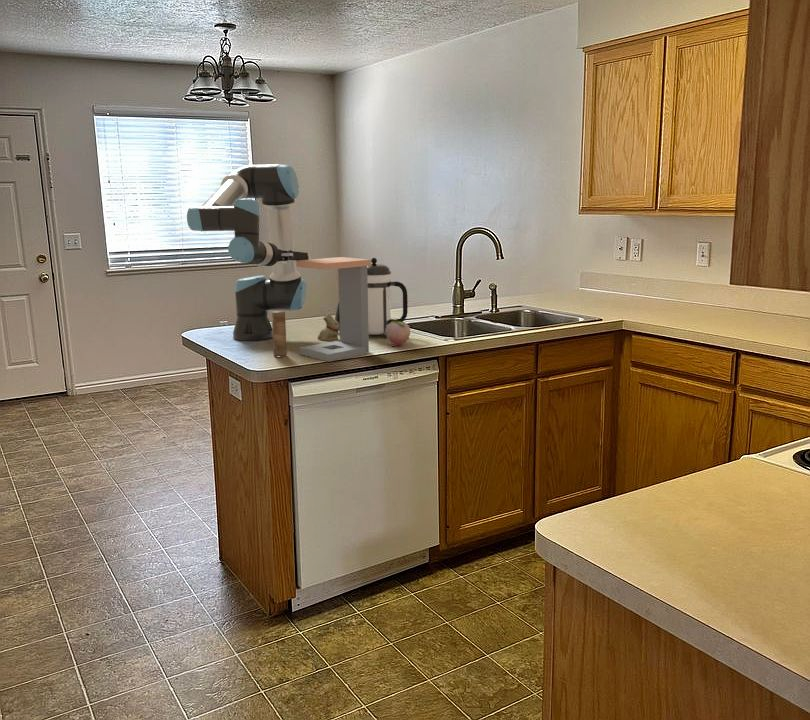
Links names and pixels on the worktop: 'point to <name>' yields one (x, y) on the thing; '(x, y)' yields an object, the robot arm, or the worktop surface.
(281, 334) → the peg
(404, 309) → the coffee press
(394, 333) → the decorative fruit
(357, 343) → the socket
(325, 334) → the chocolate bunny
